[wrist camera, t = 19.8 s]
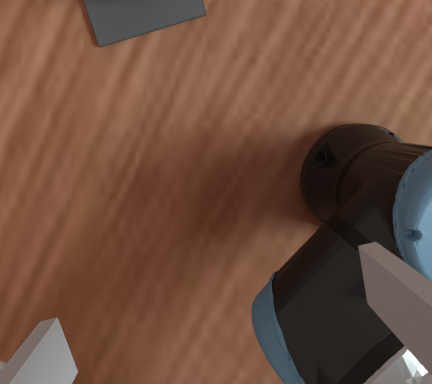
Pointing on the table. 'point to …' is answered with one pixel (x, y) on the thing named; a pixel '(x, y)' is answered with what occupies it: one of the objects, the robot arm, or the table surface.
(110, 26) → the mat
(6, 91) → the table surface
